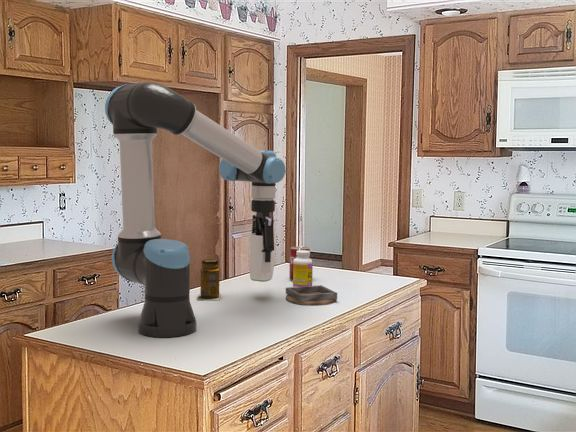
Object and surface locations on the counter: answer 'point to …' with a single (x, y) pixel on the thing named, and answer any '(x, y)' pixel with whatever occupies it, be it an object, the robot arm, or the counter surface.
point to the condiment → (209, 280)
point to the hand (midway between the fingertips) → (261, 269)
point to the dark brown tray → (310, 295)
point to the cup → (259, 258)
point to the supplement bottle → (302, 269)
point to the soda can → (293, 256)
